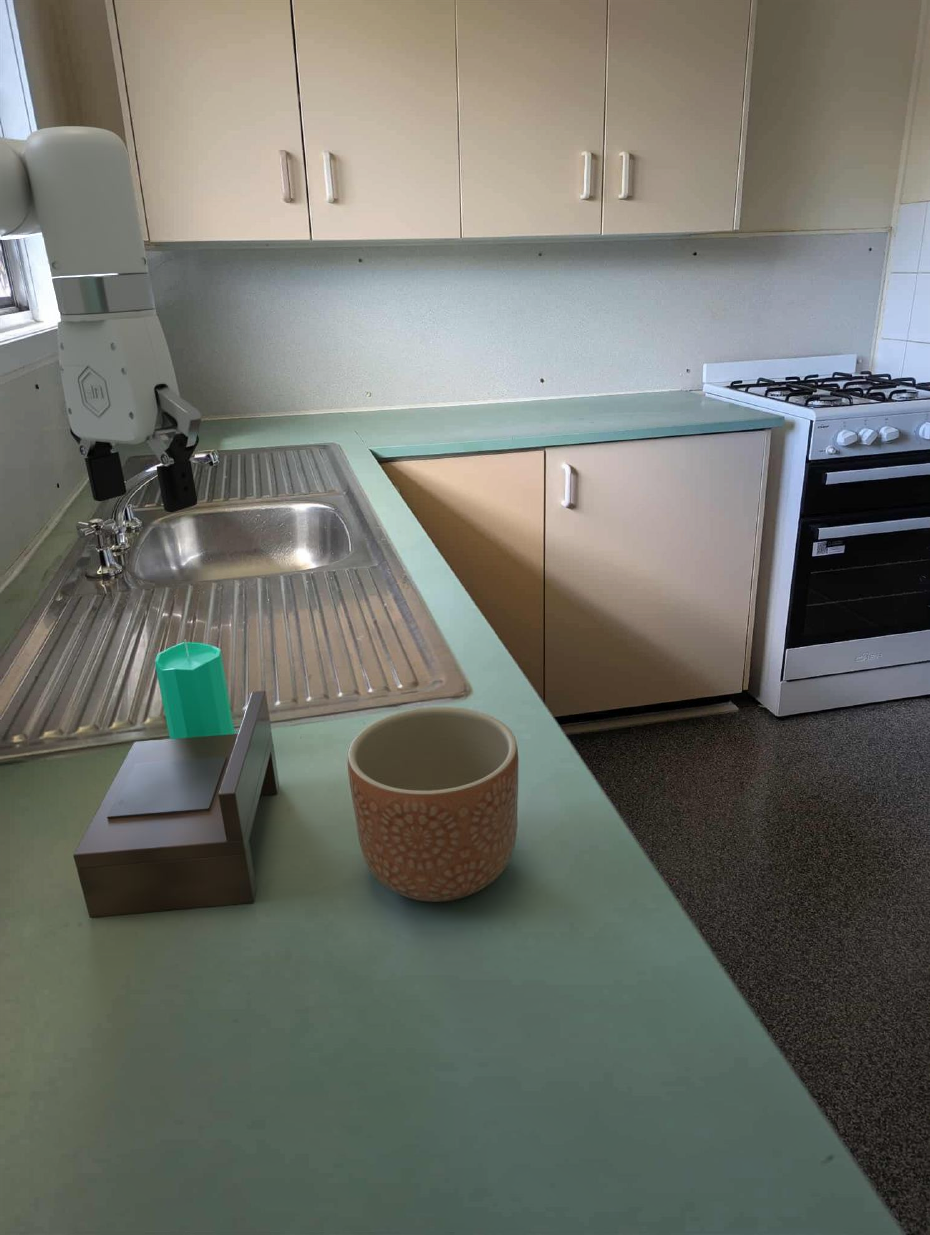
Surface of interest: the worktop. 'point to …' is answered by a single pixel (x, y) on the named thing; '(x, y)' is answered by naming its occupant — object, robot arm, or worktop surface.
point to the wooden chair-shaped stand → (180, 822)
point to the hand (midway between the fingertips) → (145, 502)
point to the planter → (435, 800)
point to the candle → (194, 691)
